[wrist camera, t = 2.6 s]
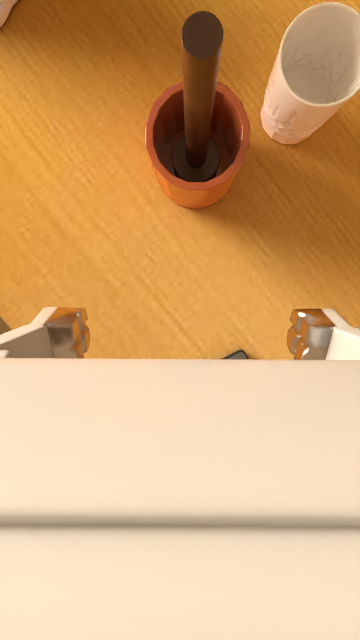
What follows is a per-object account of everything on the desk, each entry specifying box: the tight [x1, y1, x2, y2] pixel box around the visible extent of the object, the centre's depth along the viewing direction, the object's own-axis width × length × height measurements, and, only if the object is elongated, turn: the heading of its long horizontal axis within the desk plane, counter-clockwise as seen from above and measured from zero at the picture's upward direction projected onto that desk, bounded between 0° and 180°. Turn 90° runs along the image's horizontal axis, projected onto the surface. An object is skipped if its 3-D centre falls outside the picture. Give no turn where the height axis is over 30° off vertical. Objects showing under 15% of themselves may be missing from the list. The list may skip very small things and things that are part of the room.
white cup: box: [260, 2, 360, 144], centre depth 31 cm, size 8×8×10 cm
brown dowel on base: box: [172, 11, 223, 182], centre depth 27 cm, size 5×5×21 cm
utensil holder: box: [146, 81, 250, 208], centre depth 33 cm, size 9×9×9 cm
